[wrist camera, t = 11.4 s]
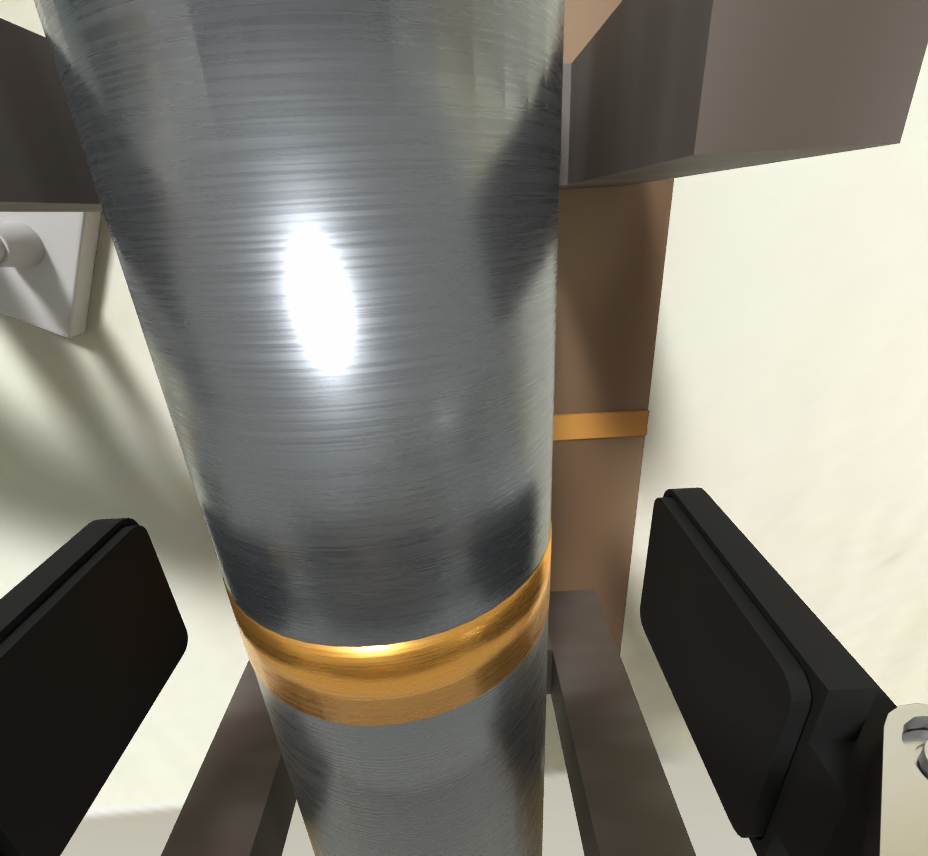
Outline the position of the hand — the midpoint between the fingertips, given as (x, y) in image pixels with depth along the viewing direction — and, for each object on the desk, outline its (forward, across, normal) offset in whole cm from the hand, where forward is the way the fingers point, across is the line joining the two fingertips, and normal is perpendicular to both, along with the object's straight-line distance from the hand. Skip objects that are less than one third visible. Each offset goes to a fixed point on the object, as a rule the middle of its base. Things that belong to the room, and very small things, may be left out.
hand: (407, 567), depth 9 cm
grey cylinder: (+1, 0, 0) cm, 1 cm away
